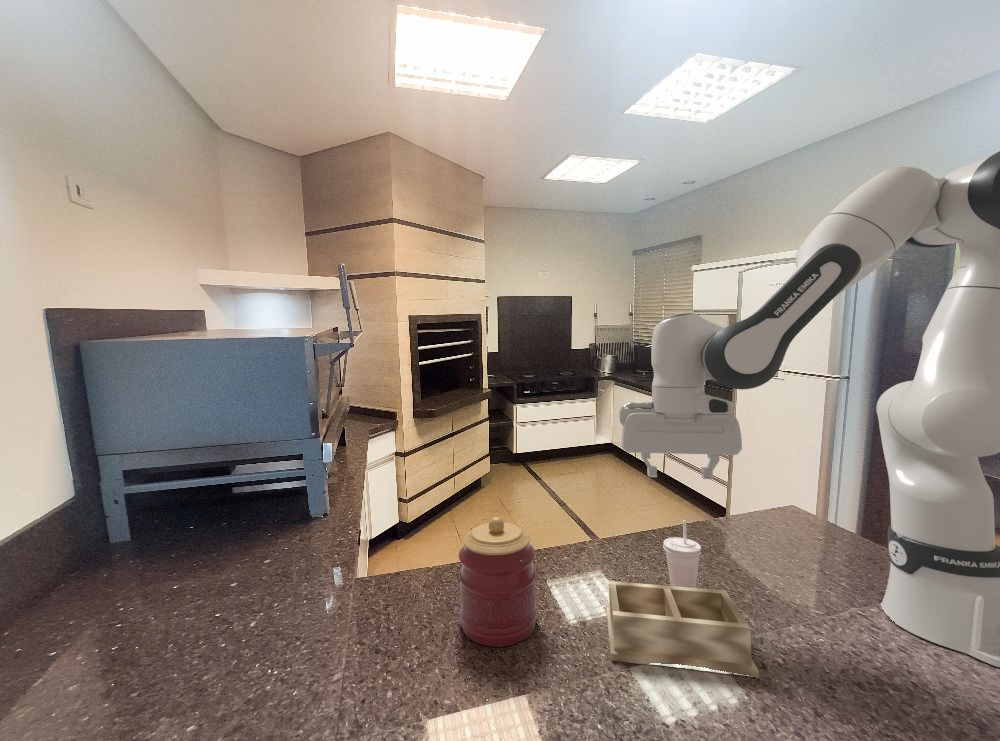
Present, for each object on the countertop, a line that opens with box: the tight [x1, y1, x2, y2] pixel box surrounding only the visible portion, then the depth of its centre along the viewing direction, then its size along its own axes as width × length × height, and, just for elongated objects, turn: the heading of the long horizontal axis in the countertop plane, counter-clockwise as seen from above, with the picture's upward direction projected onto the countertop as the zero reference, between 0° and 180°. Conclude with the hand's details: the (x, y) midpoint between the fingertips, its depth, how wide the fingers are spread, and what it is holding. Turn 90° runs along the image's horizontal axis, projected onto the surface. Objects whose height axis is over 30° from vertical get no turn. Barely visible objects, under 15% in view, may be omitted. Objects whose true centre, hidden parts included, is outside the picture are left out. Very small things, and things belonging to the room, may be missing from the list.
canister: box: [457, 516, 538, 648], centre depth 66 cm, size 13×13×18 cm
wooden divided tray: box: [605, 580, 760, 678], centre depth 60 cm, size 19×12×6 cm, turn 78°
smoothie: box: [662, 519, 702, 588], centre depth 72 cm, size 6×6×14 cm
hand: (679, 477), depth 72 cm, fingers open, 8 cm apart
